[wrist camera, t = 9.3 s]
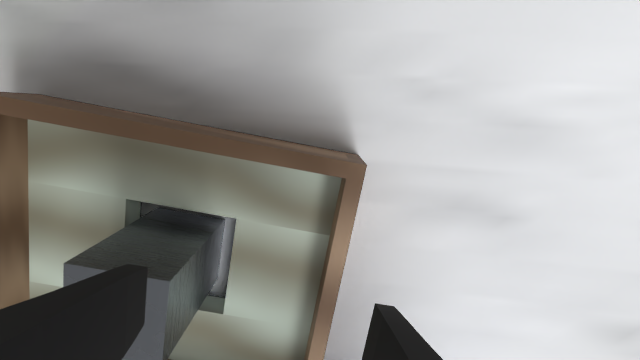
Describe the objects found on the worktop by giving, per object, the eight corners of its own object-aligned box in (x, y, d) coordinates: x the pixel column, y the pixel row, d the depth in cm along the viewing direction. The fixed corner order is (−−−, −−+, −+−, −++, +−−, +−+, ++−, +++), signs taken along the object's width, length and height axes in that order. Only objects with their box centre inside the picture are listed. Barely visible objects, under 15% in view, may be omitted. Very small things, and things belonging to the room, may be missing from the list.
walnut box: (310, 373, 21) (308, 424, 18) (38, 328, 20) (-19, 372, 17) (358, 154, 18) (366, 165, 14) (37, 94, 17) (-33, 89, 14)
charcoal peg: (217, 279, 20) (161, 368, 13) (153, 268, 20) (62, 353, 13) (225, 219, 19) (169, 281, 12) (158, 207, 19) (63, 263, 12)
